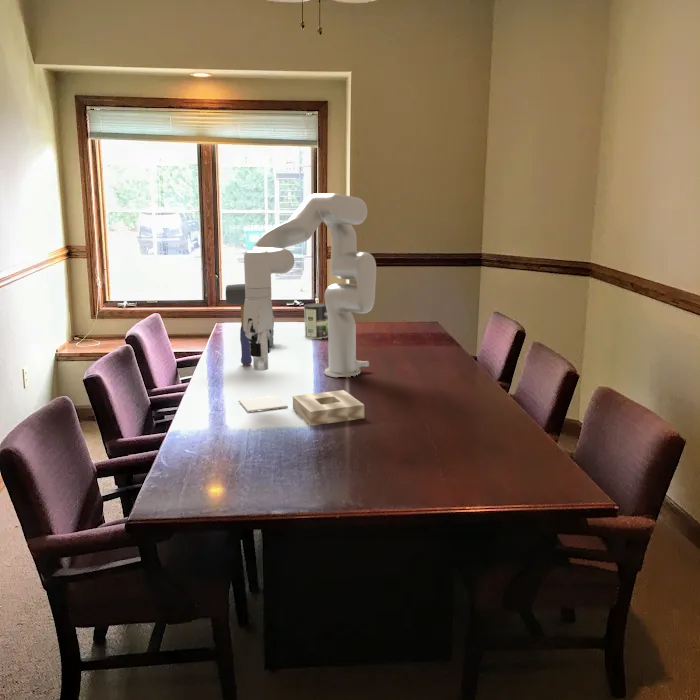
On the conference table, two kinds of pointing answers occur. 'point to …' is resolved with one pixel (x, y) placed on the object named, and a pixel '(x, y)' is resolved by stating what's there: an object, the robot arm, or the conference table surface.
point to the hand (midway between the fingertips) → (260, 353)
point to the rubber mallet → (237, 296)
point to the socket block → (328, 407)
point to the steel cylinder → (262, 353)
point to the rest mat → (262, 403)
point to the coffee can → (316, 321)
